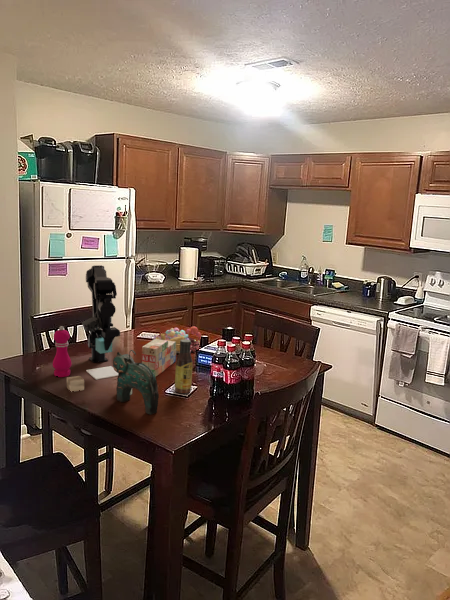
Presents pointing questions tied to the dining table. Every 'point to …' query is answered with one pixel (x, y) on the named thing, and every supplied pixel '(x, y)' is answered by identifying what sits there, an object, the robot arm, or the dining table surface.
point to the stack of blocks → (159, 355)
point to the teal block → (102, 346)
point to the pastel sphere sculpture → (181, 337)
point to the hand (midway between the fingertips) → (103, 348)
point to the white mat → (102, 372)
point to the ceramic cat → (136, 381)
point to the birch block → (75, 383)
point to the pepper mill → (61, 353)
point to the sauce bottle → (183, 368)
